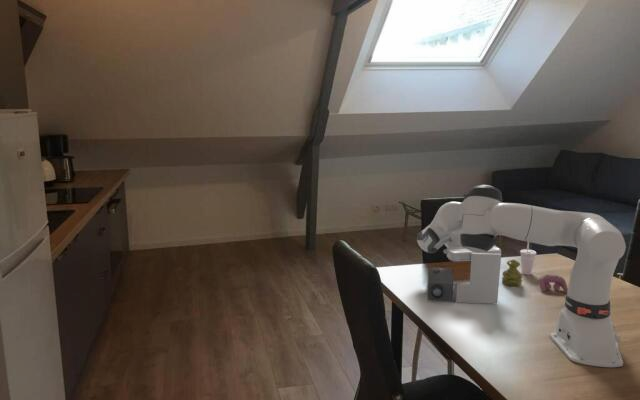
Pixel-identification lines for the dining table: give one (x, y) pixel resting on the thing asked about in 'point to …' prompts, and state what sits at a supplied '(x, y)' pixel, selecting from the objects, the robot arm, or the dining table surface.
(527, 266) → the smoothie
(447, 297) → the camera body
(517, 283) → the gold stepped round piece
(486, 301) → the side door
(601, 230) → the robot arm
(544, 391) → the dining table surface
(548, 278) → the video game controller
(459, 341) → the dining table surface
